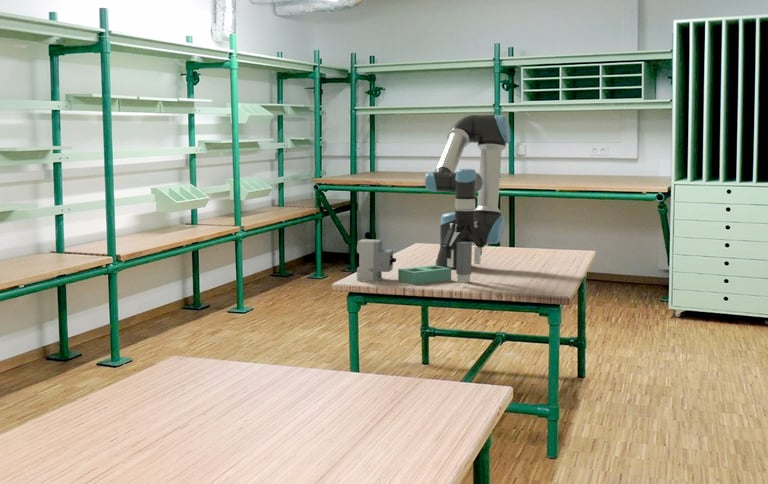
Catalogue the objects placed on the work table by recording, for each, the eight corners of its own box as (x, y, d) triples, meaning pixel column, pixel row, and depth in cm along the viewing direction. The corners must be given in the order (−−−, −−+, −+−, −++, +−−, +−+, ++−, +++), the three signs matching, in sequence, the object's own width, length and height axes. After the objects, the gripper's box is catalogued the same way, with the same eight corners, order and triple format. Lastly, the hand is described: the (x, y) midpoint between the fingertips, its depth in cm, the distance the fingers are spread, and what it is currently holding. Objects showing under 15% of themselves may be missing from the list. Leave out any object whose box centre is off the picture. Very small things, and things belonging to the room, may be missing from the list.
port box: (434, 276, 340) (434, 265, 339) (451, 280, 331) (451, 268, 331) (397, 280, 329) (397, 269, 329) (414, 284, 321) (414, 272, 320)
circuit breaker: (393, 281, 327) (393, 242, 325) (356, 280, 329) (357, 241, 328) (397, 278, 334) (397, 240, 332) (361, 277, 337) (361, 239, 335)
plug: (464, 280, 331) (464, 241, 329) (471, 281, 328) (471, 242, 326) (456, 281, 329) (456, 242, 327) (463, 282, 326) (463, 243, 324)
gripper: (483, 207, 335) (481, 261, 338) (433, 210, 321) (432, 266, 323) (496, 209, 329) (494, 263, 332) (445, 212, 315) (444, 269, 317)
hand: (463, 265), depth 328 cm, fingers open, 13 cm apart
